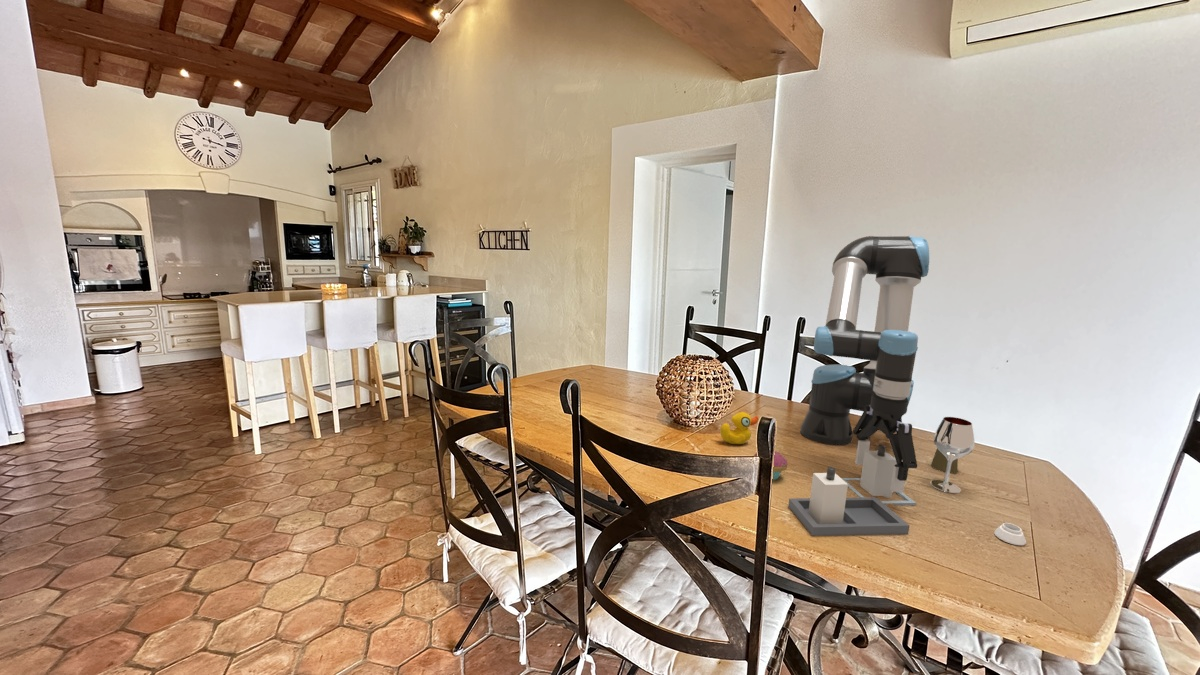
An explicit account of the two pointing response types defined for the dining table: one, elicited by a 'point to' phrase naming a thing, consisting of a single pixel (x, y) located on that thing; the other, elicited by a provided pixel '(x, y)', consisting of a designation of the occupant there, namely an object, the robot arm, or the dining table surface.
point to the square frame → (905, 497)
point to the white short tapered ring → (1010, 534)
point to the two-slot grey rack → (853, 518)
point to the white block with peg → (877, 472)
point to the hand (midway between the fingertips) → (877, 477)
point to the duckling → (738, 428)
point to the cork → (943, 463)
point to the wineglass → (953, 447)
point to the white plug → (827, 497)
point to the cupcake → (778, 464)
